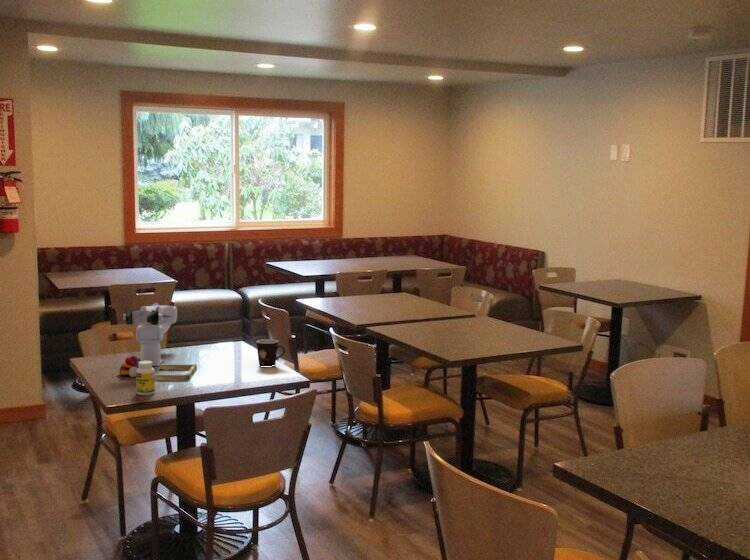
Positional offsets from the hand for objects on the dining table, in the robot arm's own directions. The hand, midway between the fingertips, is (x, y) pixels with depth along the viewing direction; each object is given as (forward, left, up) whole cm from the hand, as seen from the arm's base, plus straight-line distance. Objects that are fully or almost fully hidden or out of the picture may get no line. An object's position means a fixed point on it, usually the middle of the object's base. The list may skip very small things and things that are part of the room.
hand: (137, 319), depth 291 cm
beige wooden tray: (-2, +12, -22) cm, 25 cm away
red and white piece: (-2, -3, -22) cm, 22 cm away
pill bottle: (+24, +8, -22) cm, 33 cm away
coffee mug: (-16, +48, -22) cm, 55 cm away
